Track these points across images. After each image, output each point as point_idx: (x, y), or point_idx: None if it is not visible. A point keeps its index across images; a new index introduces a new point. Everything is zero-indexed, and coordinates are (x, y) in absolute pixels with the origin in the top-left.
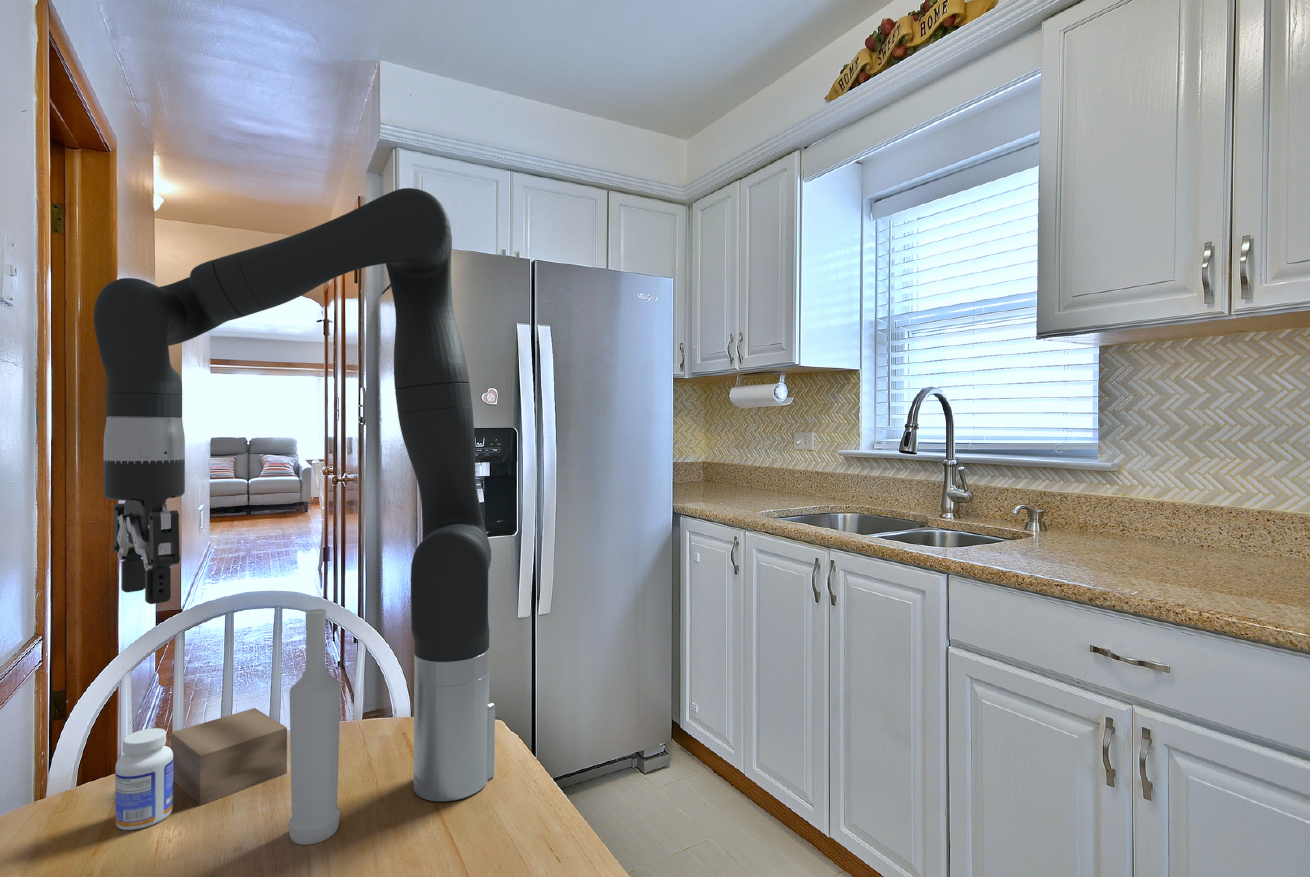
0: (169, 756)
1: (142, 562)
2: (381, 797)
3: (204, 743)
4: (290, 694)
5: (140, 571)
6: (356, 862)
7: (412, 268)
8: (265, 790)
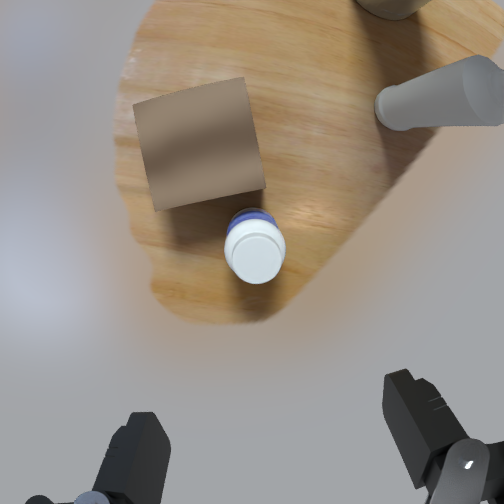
0: (271, 225)
1: (133, 489)
2: (369, 39)
3: (226, 178)
4: (487, 124)
5: (141, 465)
6: None
7: None
8: (273, 118)
